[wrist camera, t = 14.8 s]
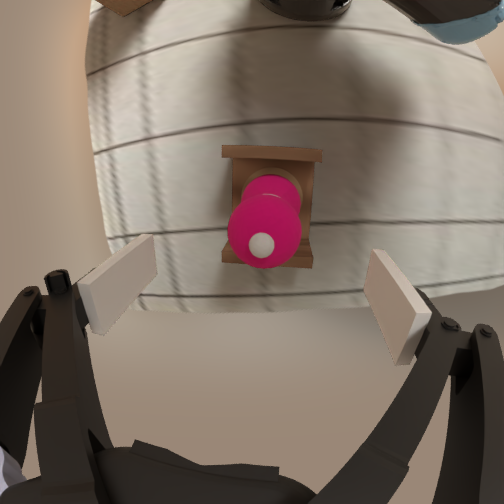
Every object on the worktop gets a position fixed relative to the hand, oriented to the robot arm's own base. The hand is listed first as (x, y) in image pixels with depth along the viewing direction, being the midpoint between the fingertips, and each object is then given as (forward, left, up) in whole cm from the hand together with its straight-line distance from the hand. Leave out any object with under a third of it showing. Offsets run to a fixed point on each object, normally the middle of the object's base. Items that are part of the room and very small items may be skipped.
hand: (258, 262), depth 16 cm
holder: (0, 0, -24) cm, 24 cm away
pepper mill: (0, 0, -23) cm, 23 cm away
